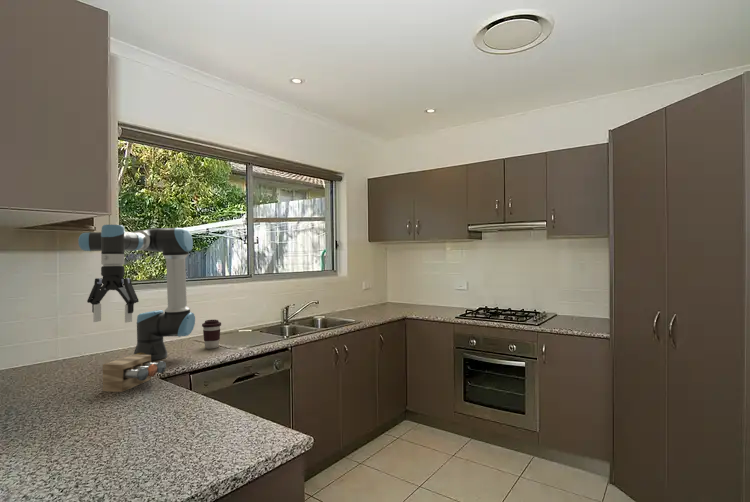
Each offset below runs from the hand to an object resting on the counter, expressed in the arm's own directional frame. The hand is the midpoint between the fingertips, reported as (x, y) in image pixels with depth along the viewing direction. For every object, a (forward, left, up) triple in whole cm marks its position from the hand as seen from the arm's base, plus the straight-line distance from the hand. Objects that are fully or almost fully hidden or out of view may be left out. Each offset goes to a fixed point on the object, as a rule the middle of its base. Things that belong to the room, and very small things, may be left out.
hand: (112, 321), depth 158 cm
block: (-7, +1, -26) cm, 27 cm away
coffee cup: (-75, -3, -26) cm, 79 cm away
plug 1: (-2, +5, -22) cm, 23 cm away
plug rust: (-7, +5, -22) cm, 24 cm away
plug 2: (-12, +5, -22) cm, 26 cm away
